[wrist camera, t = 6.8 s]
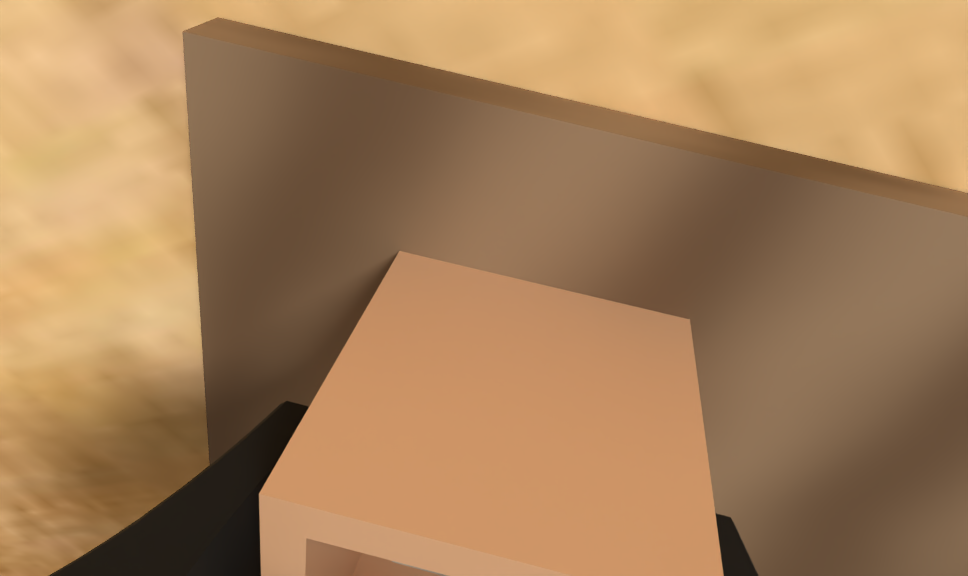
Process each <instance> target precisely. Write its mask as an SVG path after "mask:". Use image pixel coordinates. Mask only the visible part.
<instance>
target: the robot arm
mask: <svg viewBox="0 0 968 576" xmlns="http://www.w3.org/2000/svg"><path fill="white" fill-rule="evenodd" d="M308 408H309V406H305V405H301V404H298V403H294V402H290V401H285V402H283V403H281V404H280V405H279V406H278V407H277V408H275V409H274V410H273V411H272V412H271V413H270V414H269V415H268V416H267V417H266V418H265V419H263V420H262V421H261V422H260V423H259V424H258V425H257V426H256V427H255V428H253V429H252V430H251V431H250V432H249V433H248V434H247V435H245V436H244V437H243V438H242V439H241V440H240V441H238V442H237V443H236V444H235V445H234V446H233V447H231V448H230V449H229V450H228V451H227V452H226V453H224V454H223V455H222V456H221V457H219V458H218V459H217V460H216V461H214V462H213V463H212V464H211V465H210V466H208V467H207V468H206V469H205V470H203V471H202V472H201V473H200V474H198V475H197V476H196V477H195V478H193V479H192V480H191V481H190V482H188V483H187V484H186V485H184V486H183V487H182V488H180V489H179V490H178V491H176V492H175V493H174V494H172V495H171V496H170V497H168V498H167V499H165V500H164V501H163V502H161V503H160V504H159V505H157V506H156V507H155V508H153V509H152V510H150V511H149V512H148V513H146V514H145V515H144V516H142V517H141V518H139V519H138V520H136V521H135V522H134V523H132V524H131V525H129V526H128V527H126V528H125V529H123V530H122V531H120V532H119V533H117V534H116V535H114V536H113V537H111V538H110V539H108V540H107V541H105V542H104V543H102V544H100V545H99V546H97V547H96V548H94V549H92V550H91V551H89V552H88V553H86V554H85V555H83V556H81V557H80V558H78V559H76V560H75V561H73V562H71V563H70V564H68V565H66V566H65V567H63V568H61V569H59V570H58V571H56V572H54V573H52V574H51V575H49V576H261V555H260V516H259V493H260V491H261V489H262V488H263V486H264V484H265V482H266V481H267V479H268V477H269V476H270V474H271V472H272V470H273V469H274V467H275V465H276V463H277V462H278V460H279V458H280V457H281V455H282V453H283V451H284V450H285V448H286V446H287V444H288V443H289V441H290V439H291V438H292V436H293V434H294V432H295V431H296V429H297V427H298V425H299V424H300V422H301V420H302V419H303V417H304V415H305V413H306V412H307V410H308ZM715 514H716V522H717V529H718V537H719V545H720V552H721V560H722V568H723V575H724V576H759V575H758V573H757V571H756V569H755V567H754V565H753V562H752V560H751V558H750V556H749V554H748V552H747V550H746V548H745V545H744V543H743V541H742V539H741V537H740V535H739V532H738V530H737V528H736V526H735V524H734V522H733V520H732V519H731V517H728V516H724V515H720V514H717V513H715Z"/></svg>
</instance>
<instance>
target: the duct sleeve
mask: <svg viewBox="0 0 968 576" xmlns="http://www.w3.org/2000/svg"><path fill="white" fill-rule="evenodd" d="M259 516H260V555H261V576H442V575H438V574H434V573H431V572H427V571H423V570H420V569H416V568H413V567H409V566H405V565H402V564H406V565H410V566H414V567H418V568H421V569H425V570H429V571H433V572H437V573H440V574H444V575H448V576H724V575H723V568H722V560H721V552H720V545H719V537H718V529H717V522H716V514H715V507H714V499H713V491H712V484H711V476H710V469H709V461H708V453H707V446H706V438H705V430H704V423H703V415H702V408H701V400H700V392H699V385H698V377H697V370H696V362H695V354H694V347H693V339H692V331H691V324H690V319H685V318H681V317H677V316H673V315H669V314H664V313H660V312H656V311H652V310H647V309H643V308H639V307H635V306H630V305H626V304H622V303H618V302H614V301H609V300H605V299H601V298H597V297H592V296H588V295H584V294H580V293H575V292H571V291H567V290H563V289H558V288H554V287H550V286H546V285H542V284H537V283H533V282H529V281H525V280H520V279H516V278H512V277H508V276H503V275H499V274H495V273H491V272H487V271H482V270H478V269H474V268H470V267H465V266H461V265H457V264H453V263H448V262H444V261H440V260H436V259H432V258H427V257H423V256H419V255H415V254H410V253H406V252H402V251H399V253H398V254H397V256H396V258H395V260H394V261H393V263H392V265H391V266H390V268H389V270H388V272H387V273H386V275H385V277H384V279H383V280H382V282H381V284H380V285H379V287H378V289H377V291H376V292H375V294H374V296H373V298H372V299H371V301H370V303H369V304H368V306H367V308H366V310H365V311H364V313H363V315H362V317H361V318H360V320H359V322H358V323H357V325H356V327H355V329H354V330H353V332H352V334H351V336H350V337H349V339H348V341H347V342H346V344H345V346H344V348H343V349H342V351H341V353H340V355H339V356H338V358H337V360H336V361H335V363H334V365H333V367H332V368H331V370H330V372H329V374H328V375H327V377H326V379H325V381H324V382H323V384H322V386H321V387H320V389H319V391H318V393H317V394H316V396H315V398H314V400H313V401H312V403H311V405H310V406H309V408H308V410H307V412H306V413H305V415H304V417H303V419H302V420H301V422H300V424H299V425H298V427H297V429H296V431H295V432H294V434H293V436H292V438H291V439H290V441H289V443H288V444H287V446H286V448H285V450H284V451H283V453H282V455H281V457H280V458H279V460H278V462H277V463H276V465H275V467H274V469H273V470H272V472H271V474H270V476H269V477H268V479H267V481H266V482H265V484H264V486H263V488H262V489H261V491H260V493H259ZM392 561H395V562H399V563H402V564H398V563H394V562H392Z"/></svg>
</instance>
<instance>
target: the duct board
mask: <svg viewBox="0 0 968 576" xmlns="http://www.w3.org/2000/svg"><path fill="white" fill-rule="evenodd" d="M183 45H184V61H185V77H186V93H187V109H188V125H189V141H190V157H191V173H192V189H193V205H194V221H195V237H196V253H197V269H198V285H199V301H200V317H201V333H202V349H203V365H204V381H205V397H206V413H207V428H208V444H209V460H210V465H211V464H212V463H213V462H214V461H216V460H217V459H218V458H219V457H221V456H222V455H223V454H224V453H226V452H227V451H228V450H229V449H230V448H231V447H233V446H234V445H235V444H236V443H237V442H238V441H240V440H241V439H242V438H243V437H244V436H245V435H247V434H248V433H249V432H250V431H251V430H252V429H253V428H255V427H256V426H257V425H258V424H259V423H260V422H261V421H262V420H263V419H265V418H266V417H267V416H268V415H269V414H270V413H271V412H272V411H273V410H274V409H275V408H277V407H278V406H279V405H280V404H281V403H283V402H285V401H290V402H294V403H298V404H301V405H305V406H310V405H311V403H312V401H313V400H314V398H315V396H316V394H317V393H318V391H319V389H320V387H321V386H322V384H323V382H324V381H325V379H326V377H327V375H328V374H329V372H330V370H331V368H332V367H333V365H334V363H335V361H336V360H337V358H338V356H339V355H340V353H341V351H342V349H343V348H344V346H345V344H346V342H347V341H348V339H349V337H350V336H351V334H352V332H353V330H354V329H355V327H356V325H357V323H358V322H359V320H360V318H361V317H362V315H363V313H364V311H365V310H366V308H367V306H368V304H369V303H370V301H371V299H372V298H373V296H374V294H375V292H376V291H377V289H378V287H379V285H380V284H381V282H382V280H383V279H384V277H385V275H386V273H387V272H388V270H389V268H390V266H391V265H392V263H393V261H394V260H395V258H396V256H397V254H398V253H399V251H402V252H406V253H410V254H415V255H419V256H423V257H427V258H432V259H436V260H440V261H444V262H448V263H453V264H457V265H461V266H465V267H470V268H474V269H478V270H482V271H487V272H491V273H495V274H499V275H503V276H508V277H512V278H516V279H520V280H525V281H529V282H533V283H537V284H542V285H546V286H550V287H554V288H558V289H563V290H567V291H571V292H575V293H580V294H584V295H588V296H592V297H597V298H601V299H605V300H609V301H614V302H618V303H622V304H626V305H630V306H635V307H639V308H643V309H647V310H652V311H656V312H660V313H664V314H669V315H673V316H677V317H681V318H685V319H690V324H691V331H692V339H693V347H694V354H695V362H696V370H697V377H698V385H699V392H700V400H701V408H702V415H703V423H704V430H705V438H706V446H707V453H708V461H709V469H710V476H711V484H712V491H713V499H714V507H715V513H717V514H720V515H724V516H728V517H731V519H732V520H733V522H734V524H735V526H736V528H737V530H738V532H739V535H740V537H741V539H742V541H743V543H744V545H745V548H746V550H747V552H748V554H749V556H750V558H751V560H752V562H753V565H754V567H755V569H756V571H757V573H758V575H759V576H968V193H964V192H960V191H956V190H952V189H947V188H943V187H939V186H935V185H930V184H926V183H922V182H917V181H913V180H909V179H905V178H900V177H896V176H892V175H888V174H883V173H879V172H875V171H871V170H866V169H862V168H858V167H853V166H849V165H845V164H841V163H836V162H832V161H828V160H824V159H819V158H815V157H811V156H807V155H802V154H798V153H794V152H789V151H785V150H781V149H777V148H772V147H768V146H764V145H760V144H755V143H751V142H747V141H743V140H738V139H734V138H730V137H725V136H721V135H717V134H713V133H708V132H704V131H700V130H696V129H691V128H687V127H683V126H679V125H674V124H670V123H666V122H661V121H657V120H653V119H649V118H644V117H640V116H636V115H632V114H627V113H623V112H619V111H615V110H610V109H606V108H602V107H598V106H593V105H589V104H585V103H580V102H576V101H572V100H568V99H563V98H559V97H555V96H551V95H546V94H542V93H538V92H534V91H529V90H525V89H521V88H516V87H512V86H508V85H504V84H499V83H495V82H491V81H487V80H482V79H478V78H474V77H470V76H465V75H461V74H457V73H452V72H448V71H444V70H440V69H435V68H431V67H427V66H423V65H418V64H414V63H410V62H406V61H401V60H397V59H393V58H388V57H384V56H380V55H376V54H371V53H367V52H363V51H359V50H354V49H350V48H346V47H342V46H337V45H333V44H329V43H324V42H320V41H316V40H312V39H307V38H303V37H299V36H295V35H290V34H286V33H282V32H278V31H273V30H269V29H265V28H261V27H256V26H252V25H248V24H243V23H239V22H235V21H231V20H226V19H222V18H216V19H213V20H210V21H208V22H205V23H203V24H200V25H198V26H195V27H193V28H190V29H188V30H185V31H183ZM392 562H394V563H398V564H402V563H399V562H395V561H392ZM402 565H405V566H409V567H413V568H416V569H420V570H423V571H427V572H431V573H434V574H438V575H442V576H448V575H444V574H440V573H437V572H433V571H429V570H425V569H421V568H418V567H414V566H410V565H406V564H402Z"/></svg>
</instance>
